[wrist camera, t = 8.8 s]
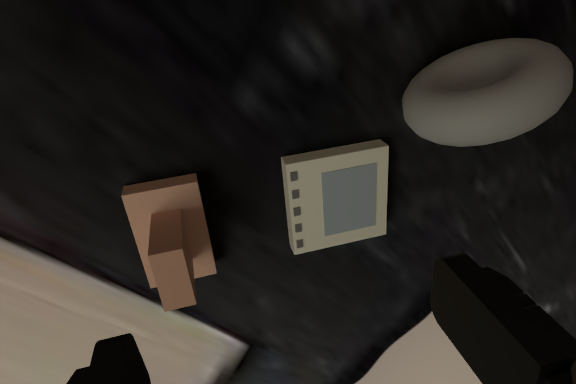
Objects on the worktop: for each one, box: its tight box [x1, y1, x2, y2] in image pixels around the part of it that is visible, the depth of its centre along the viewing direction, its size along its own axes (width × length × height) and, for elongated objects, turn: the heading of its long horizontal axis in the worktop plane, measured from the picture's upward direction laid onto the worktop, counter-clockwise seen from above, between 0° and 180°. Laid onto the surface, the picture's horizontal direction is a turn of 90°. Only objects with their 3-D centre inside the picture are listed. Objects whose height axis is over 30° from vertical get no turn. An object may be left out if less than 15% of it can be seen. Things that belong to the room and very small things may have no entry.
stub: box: [121, 173, 217, 312], centre depth 28 cm, size 5×8×6 cm, turn 5°
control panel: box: [281, 139, 389, 255], centre depth 33 cm, size 8×8×2 cm
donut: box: [402, 38, 573, 147], centre depth 27 cm, size 10×4×10 cm, turn 115°
